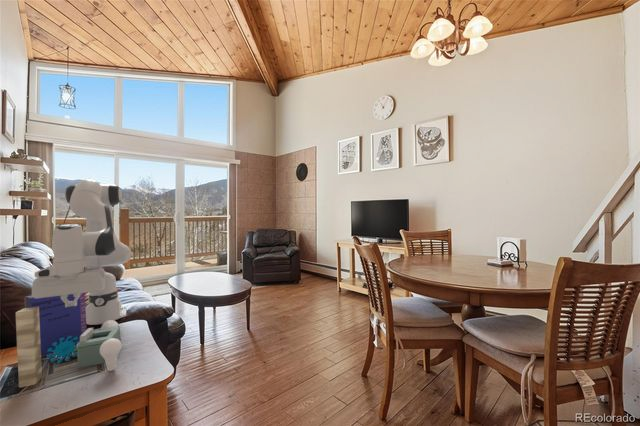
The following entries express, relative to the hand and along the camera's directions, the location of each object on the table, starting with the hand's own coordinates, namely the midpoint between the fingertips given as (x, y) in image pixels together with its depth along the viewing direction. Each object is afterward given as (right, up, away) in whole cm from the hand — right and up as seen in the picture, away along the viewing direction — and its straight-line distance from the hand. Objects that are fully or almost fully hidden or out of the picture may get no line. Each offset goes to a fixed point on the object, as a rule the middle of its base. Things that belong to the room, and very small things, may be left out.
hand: (71, 306), depth 102 cm
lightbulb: (+19, -21, -5) cm, 28 cm away
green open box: (+7, -21, +5) cm, 23 cm away
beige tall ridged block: (-4, -22, -10) cm, 24 cm away
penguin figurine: (+2, -21, +17) cm, 27 cm away
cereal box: (-17, -22, +13) cm, 31 cm away
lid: (+7, -14, +5) cm, 16 cm away
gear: (-6, -22, +5) cm, 23 cm away
